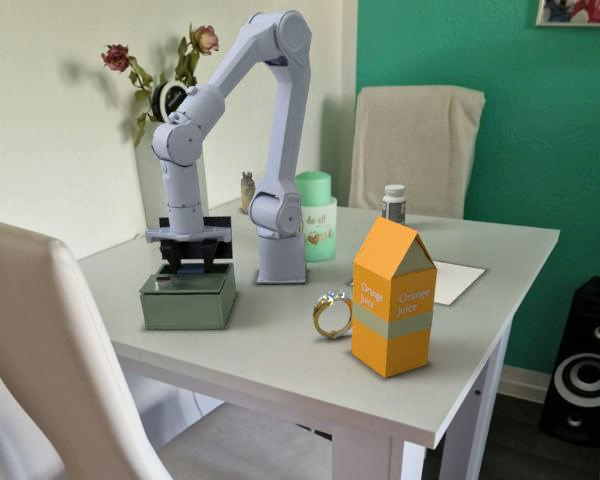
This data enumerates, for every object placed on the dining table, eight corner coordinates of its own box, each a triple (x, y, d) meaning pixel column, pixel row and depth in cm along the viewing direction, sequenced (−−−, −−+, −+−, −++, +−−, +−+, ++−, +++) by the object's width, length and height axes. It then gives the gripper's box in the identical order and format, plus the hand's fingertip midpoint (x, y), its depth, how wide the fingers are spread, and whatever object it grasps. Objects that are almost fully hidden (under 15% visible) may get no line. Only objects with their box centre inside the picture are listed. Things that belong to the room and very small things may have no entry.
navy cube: (210, 283, 103) (208, 262, 101) (206, 293, 99) (203, 271, 97) (186, 283, 103) (183, 263, 101) (180, 293, 99) (177, 272, 97)
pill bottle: (408, 227, 138) (411, 185, 133) (398, 233, 134) (401, 190, 129) (386, 224, 141) (389, 183, 136) (377, 230, 137) (379, 188, 132)
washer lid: (162, 259, 103) (162, 259, 103) (232, 258, 102) (232, 258, 102) (158, 217, 101) (159, 217, 101) (230, 216, 100) (231, 216, 100)
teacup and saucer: (440, 269, 113) (442, 250, 111) (425, 282, 107) (427, 262, 105) (400, 262, 117) (402, 243, 115) (384, 274, 112) (385, 254, 109)
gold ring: (352, 330, 91) (353, 284, 87) (358, 339, 89) (359, 292, 84) (310, 336, 90) (309, 289, 86) (315, 344, 87) (315, 297, 83)
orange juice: (392, 340, 88) (401, 211, 77) (428, 364, 81) (443, 226, 70) (350, 353, 85) (353, 220, 74) (384, 378, 78) (393, 237, 67)
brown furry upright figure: (258, 213, 153) (255, 175, 148) (244, 214, 152) (241, 176, 147) (253, 207, 159) (250, 169, 153) (240, 208, 158) (237, 171, 153)
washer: (167, 294, 106) (162, 259, 103) (236, 293, 106) (232, 258, 102) (146, 329, 94) (138, 291, 90) (223, 329, 93) (219, 290, 89)
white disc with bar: (215, 282, 93) (214, 273, 92) (212, 290, 90) (211, 280, 89) (157, 283, 94) (156, 273, 93) (152, 290, 91) (150, 280, 90)
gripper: (134, 210, 90) (149, 289, 97) (223, 208, 89) (231, 289, 97) (146, 199, 96) (159, 275, 103) (229, 198, 95) (237, 274, 103)
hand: (194, 281), depth 100 cm, fingers closed on navy cube, 4 cm apart
